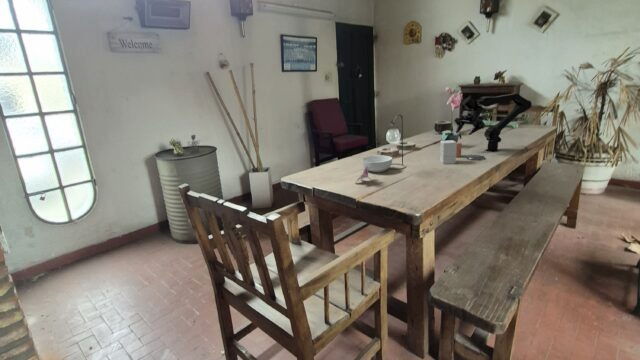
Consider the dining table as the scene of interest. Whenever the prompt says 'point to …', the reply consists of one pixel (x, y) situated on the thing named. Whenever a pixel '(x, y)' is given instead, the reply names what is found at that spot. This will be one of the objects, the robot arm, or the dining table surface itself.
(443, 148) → the supplement box
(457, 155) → the upright salmon prism
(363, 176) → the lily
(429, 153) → the dining table surface
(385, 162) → the cereal bowl
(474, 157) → the charcoal dinner plate
